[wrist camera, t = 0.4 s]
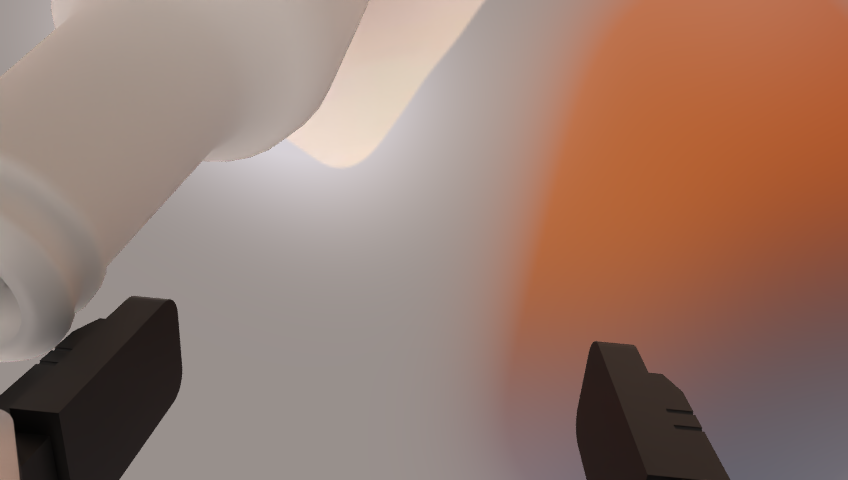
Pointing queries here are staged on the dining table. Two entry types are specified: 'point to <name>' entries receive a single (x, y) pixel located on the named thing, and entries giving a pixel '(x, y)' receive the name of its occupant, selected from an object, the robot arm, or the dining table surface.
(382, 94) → the dining table surface
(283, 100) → the alcohol
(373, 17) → the dining table surface
